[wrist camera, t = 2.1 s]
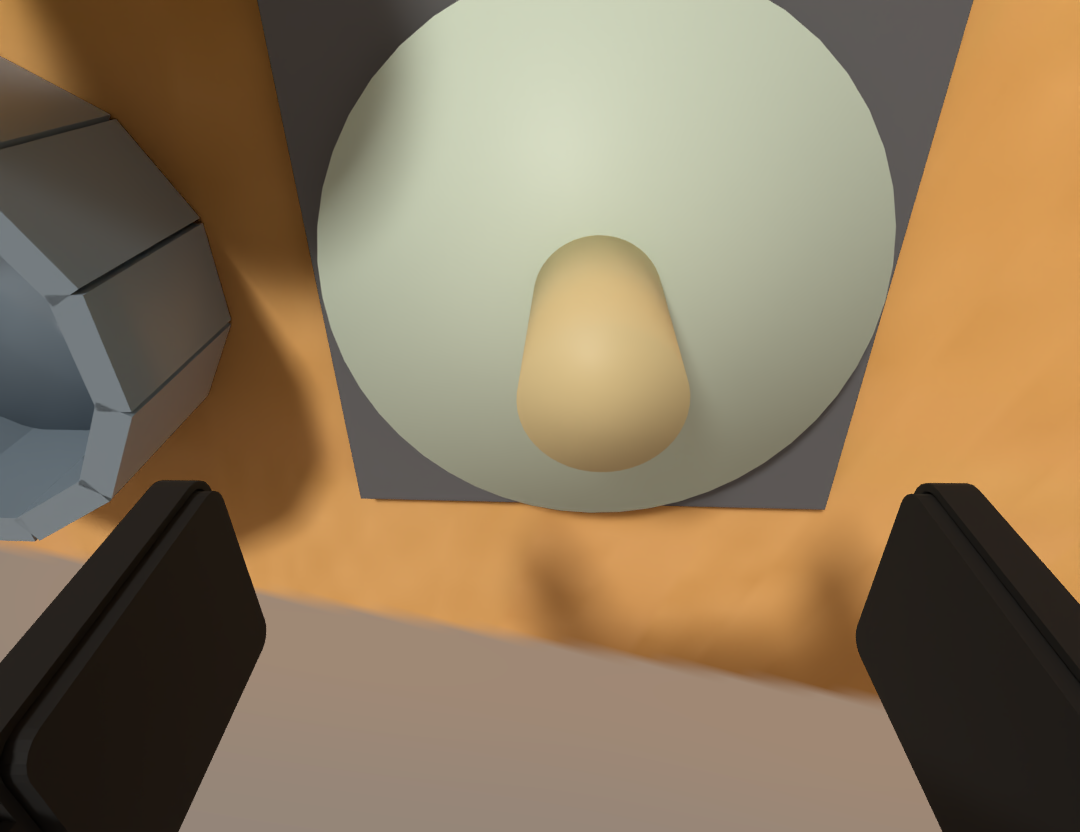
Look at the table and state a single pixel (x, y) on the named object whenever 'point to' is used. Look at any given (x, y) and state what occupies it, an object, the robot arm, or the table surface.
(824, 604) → the table surface
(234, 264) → the table surface
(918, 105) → the mat
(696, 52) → the lid
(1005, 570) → the robot arm
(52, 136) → the bowl
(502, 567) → the table surface
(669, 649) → the table surface
